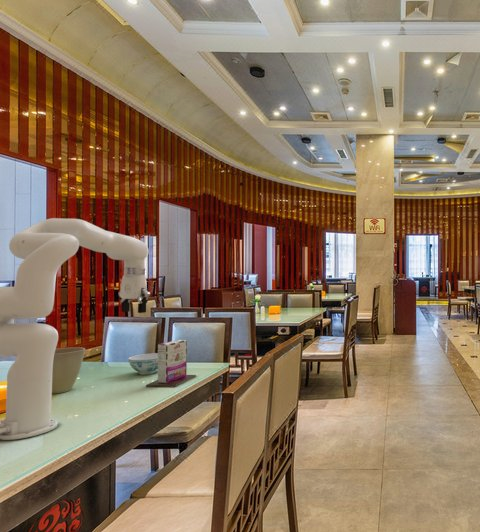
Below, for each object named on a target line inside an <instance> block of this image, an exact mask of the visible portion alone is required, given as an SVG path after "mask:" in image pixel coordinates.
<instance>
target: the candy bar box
mask: <svg viewBox="0 0 480 532" xmlns="http://www.w3.org/2000/svg"><path fill="white" fill-rule="evenodd" d="M187 342H188V340H187V339H175V340H171V341H167V342H162V343H158V344H157V353H158V369H157V380H158V383H169V382H172V381H175V380H178V379H180V378H183V377H186V376H187V375H188V374H187V367H188V366H187V359H188V358H187V357H188V356H187V355H188V353H187V352H188V351H187V350H188V348H187Z"/></svg>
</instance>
